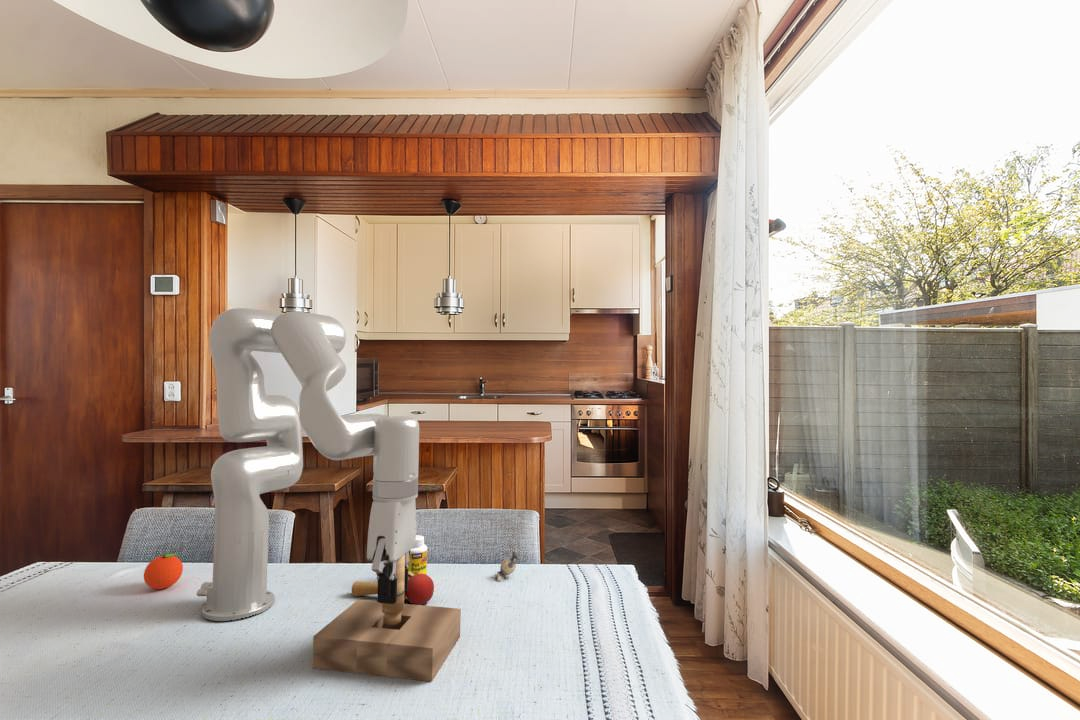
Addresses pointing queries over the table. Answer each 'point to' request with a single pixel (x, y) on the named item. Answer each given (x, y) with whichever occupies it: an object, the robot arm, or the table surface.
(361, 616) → the seat board
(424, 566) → the supplement bottle
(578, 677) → the table surface
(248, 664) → the table surface
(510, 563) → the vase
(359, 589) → the kendama
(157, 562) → the clementine
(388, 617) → the oak peg
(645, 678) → the table surface
